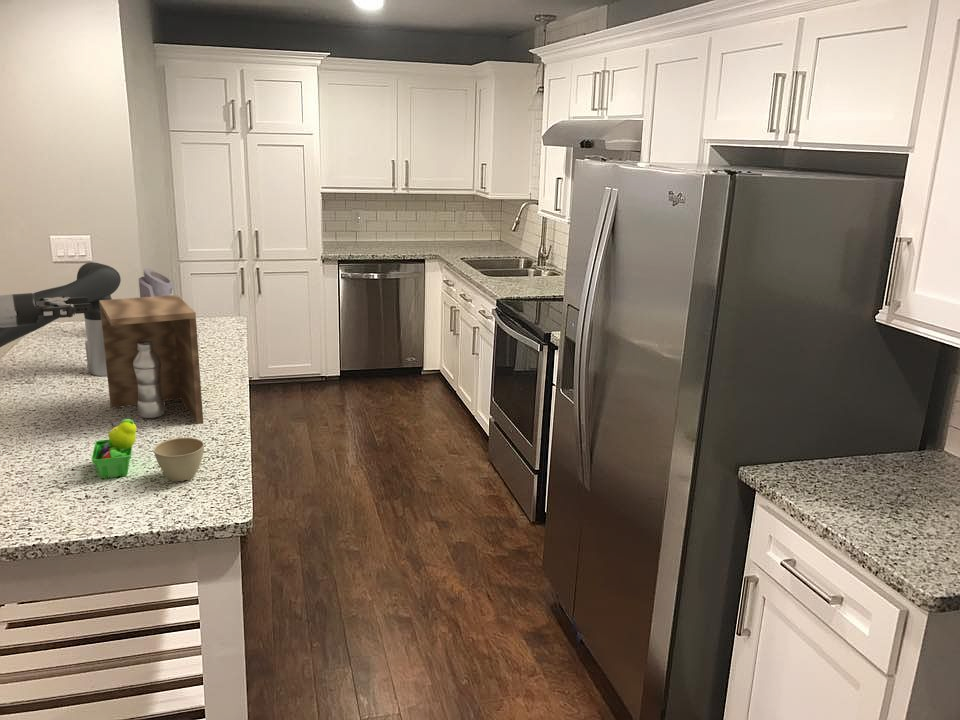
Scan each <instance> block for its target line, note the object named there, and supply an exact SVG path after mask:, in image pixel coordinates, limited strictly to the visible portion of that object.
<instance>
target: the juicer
mask: <svg viewBox="0 0 960 720" xmlns="http://www.w3.org/2000/svg"><path fill="white" fill-rule="evenodd" d="M138 288H139V289H138V290H139V298H140V297H155V296H169V295H175V284H174V282H173V281H172V279H170V278H169V277H167V276H166V275H164V274H162V273H161V272H158V271H156V270H154V269H149V268H145V269H143V276H140V277H139V278H138Z"/></svg>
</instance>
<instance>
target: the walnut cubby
mask: <svg viewBox="0 0 960 720" xmlns="http://www.w3.org/2000/svg"><path fill="white" fill-rule="evenodd" d="M99 304H100V313H101V322H102V332H103V341H104V350H105V360H106V369H107V376H106V378H107V387H108V388H107V389H108V396H109V404H110V405H109V406H110V409H115V408H114V407H117V408H122V407H121V406H124V407H130V406H129V405H132V406H137V404H138V385H137V384H138V383H137V378H136V374H135V370H134V367H133V361H134V358H135V356H136V355H137V354H138V352H139V351H138V350H137V348H138V345H137V343H138V342H140V341H153V347H154V349H153V351H154V352H155V354H156V355H157V356H158V357H159V359H160V361H161V368H160V386H161V392H162V397H163V400H164V402H167V401H168V402H169V401H175V400H181V402H182V404H183V405H184V406H185V408H186V409H187V411H188V412H189V414H190V415H191V417H192V418H193V420H194V421H195V422H196V424H197V425H199V424H204V414H203V399H202V398H203V396H202V385H201V372H200V371H201V370H200V357H199V343H198V342H199V341H198V329H197V328H198V326H197V316H196V311H195V310H193V308H191V306H190V305H188V304H187V303H186V302H185V301H184V300H183V299H182V298H181V297H180V296H179V295H178V294H174V295H169V296H155V297H140V296H139V297H130V298H127V297H126V298H116V299H115V298H114V299H112V300H99Z"/></svg>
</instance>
